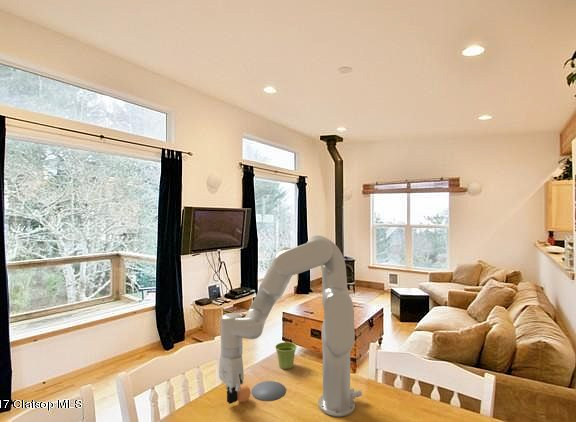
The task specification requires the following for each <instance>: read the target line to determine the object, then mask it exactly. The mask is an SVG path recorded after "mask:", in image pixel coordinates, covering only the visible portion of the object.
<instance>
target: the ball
mask: <svg viewBox="0 0 576 422" xmlns="http://www.w3.org/2000/svg"><path fill="white" fill-rule="evenodd" d="M240 385H241V384H240ZM251 395H252V393H251V389H250V387H249V386H248V385H247V384H242V385H241V390H240V391H237V402H240V403H246V402H247V401H248V400H249V398H250V397H251Z"/></svg>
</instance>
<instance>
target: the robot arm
mask: <svg viewBox="0 0 576 422" xmlns="http://www.w3.org/2000/svg"><path fill="white" fill-rule="evenodd" d="M317 267H321V268H320V269H321V282H322V283H321V285H322V286H321V287H322V288H321V289H322V290H321V291H322V293H321V304H322V308H323V315H324V316H323V318H324V320H323V321H322V324H321V340H322V341H321V344H322V346H321V347H322V395H320V397H319V398H318V409H320V410H321V411H322V412H323V413H325V414H326V415H329V416H331V417H347V416H349V415H350V414H352V413H353V412H354V411H355V409H356V405H355V404H356V403H355V401H354V400H355V399H356V398H359V397H362V396H363V393H362V390H360V389H357V390H355V389H354V388H352V387H351V350H353V347H354V344H355V335H356V333H355V309H354V308H355V307H354V302H353V299H352V298H351V296H350V293H349V291H348V278H347V266H346V262H345V258H344V255H343V253H342V252H341V249H340V248H339V247H338V245H337V244H336V243H335V242H334V241H332V240H331V239H329V238H327V237H325V236H324V235H313V236H311V237H310V238H309V239H308V240H307V242H306V243H303V244H300V245H298V246H294V247H292V248H291V247H282V248H280V249H279V250H278V251H277V252H276V254H275V256H274V257H273V259H272V262H271V263H270V266H269V268H268V269H267V270H266V273H265V275H264V276H263V279H262V280H261V283H260V284H259V286H258V291H257V293H256V295H255V297H254V299H253V300H252V303H251V304H250V306H249V309H248V310H247V312H246V314H245V316H244V317H242V315H241V314H240V313H238V312H229V313H224V314H223V315H222V316H221V317H220V354H219V355H220V356H219V368H218V369H219V371H218V374H219V375H218V376H219V377H218V378H219V380H220V381H222V382H223V383H224V384H225V388H226V402H227V403H228V404H229V405H230V404H233V403H235V402H238V400H237V391H240V390H241V385H244V379H245V378H244V374H245V373H244V361H243V354H244V353H243V348H244V347H243V339H248V340H256V339H258V338H260V337H261V336H262V334H263V331H264V327H265V325H266V321H267V318H268V317H269V314H270V312H271V311H272V309H273V307H274V305H275V304H276V302H277V301H278V300H280V299H281V297H282V296H283V295H284V294H285V291H286V289H287V287H288V285H289V283H290V282H291V279H292V277H293V276H296V275H298V274H302V273H304V272H306V271H310V270H312V269H316V268H317Z"/></svg>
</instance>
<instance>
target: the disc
mask: <svg viewBox="0 0 576 422" xmlns="http://www.w3.org/2000/svg"><path fill="white" fill-rule="evenodd" d="M286 391H287V389H286V386H285V385H284V384H282V383H280V382H278V381H272V380H269V381H261V382H259V383H257V384H255V385H254V386H253V387H252V388H251V390H250V392H251V395H252V397H254V399H257V400H259V401H264V402H266V401H267V402H271V401H276V400H278V399H281V398H282V397H284V396H285V394H286V393H287V392H286Z"/></svg>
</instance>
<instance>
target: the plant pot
mask: <svg viewBox="0 0 576 422" xmlns="http://www.w3.org/2000/svg"><path fill="white" fill-rule="evenodd" d="M274 348H275V351H276V353H277V361H278V366H279V368H280V369H284V370H287V369H289V370H290V369H292V368H293V367H294V360H295V353H296V349H297V344H296V343H294V342H289V341H288V342H286V341H283V342H280V343H277V344H275V346H274Z"/></svg>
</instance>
